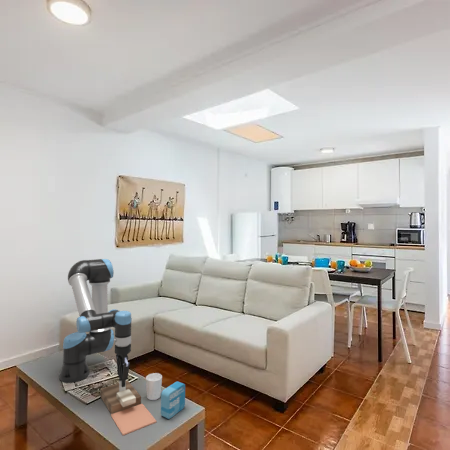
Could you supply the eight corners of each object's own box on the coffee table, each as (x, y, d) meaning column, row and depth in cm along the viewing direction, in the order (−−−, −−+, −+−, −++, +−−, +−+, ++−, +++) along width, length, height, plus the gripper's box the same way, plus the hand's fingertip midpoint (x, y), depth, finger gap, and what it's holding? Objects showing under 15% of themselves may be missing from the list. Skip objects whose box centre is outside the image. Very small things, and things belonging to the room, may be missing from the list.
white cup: (153, 402, 157) (154, 382, 156) (142, 397, 161) (142, 378, 161) (164, 395, 163) (165, 376, 163) (153, 390, 168) (154, 371, 167)
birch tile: (116, 397, 153) (116, 392, 153) (128, 393, 157) (128, 388, 157) (123, 407, 146) (123, 401, 146) (135, 402, 150) (135, 397, 149)
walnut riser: (100, 396, 161) (100, 388, 161) (127, 387, 169) (127, 380, 169) (111, 414, 147) (111, 406, 146) (140, 404, 155) (141, 396, 155)
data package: (167, 420, 144) (168, 394, 143) (160, 417, 146) (160, 391, 146) (185, 407, 154) (185, 382, 153) (177, 404, 156) (178, 380, 156)
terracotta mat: (110, 415, 146) (110, 414, 146) (142, 404, 155) (142, 403, 155) (123, 435, 133) (123, 434, 133) (156, 422, 142) (156, 421, 142)
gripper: (110, 341, 158) (110, 388, 158) (119, 350, 147) (119, 401, 148) (125, 338, 162) (125, 384, 163) (135, 346, 152) (134, 395, 153)
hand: (122, 392), depth 155 cm, fingers closed
